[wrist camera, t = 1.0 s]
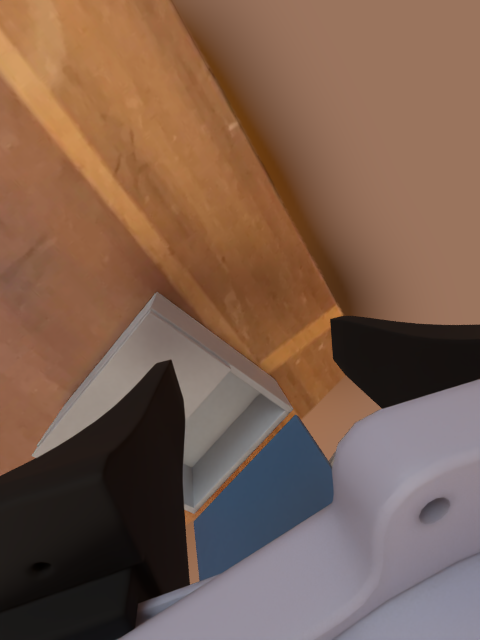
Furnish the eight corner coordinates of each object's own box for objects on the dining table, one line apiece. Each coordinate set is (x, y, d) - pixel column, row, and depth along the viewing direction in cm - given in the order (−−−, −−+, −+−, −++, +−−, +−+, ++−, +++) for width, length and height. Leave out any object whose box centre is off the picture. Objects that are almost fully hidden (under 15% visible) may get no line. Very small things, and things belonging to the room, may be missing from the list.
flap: (295, 414, 20) (298, 416, 20) (193, 521, 21) (197, 522, 21) (348, 494, 14) (352, 496, 14) (204, 634, 16) (210, 635, 16)
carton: (275, 379, 25) (297, 415, 20) (192, 468, 26) (194, 524, 21) (157, 291, 20) (148, 310, 15) (64, 404, 22) (29, 456, 17)
